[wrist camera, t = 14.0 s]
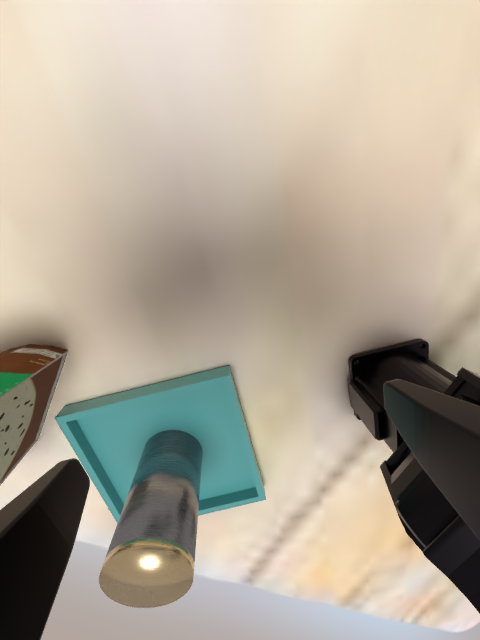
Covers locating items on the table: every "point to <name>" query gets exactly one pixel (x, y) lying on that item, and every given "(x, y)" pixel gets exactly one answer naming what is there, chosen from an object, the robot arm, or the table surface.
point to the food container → (25, 398)
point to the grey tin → (157, 525)
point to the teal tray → (160, 415)
